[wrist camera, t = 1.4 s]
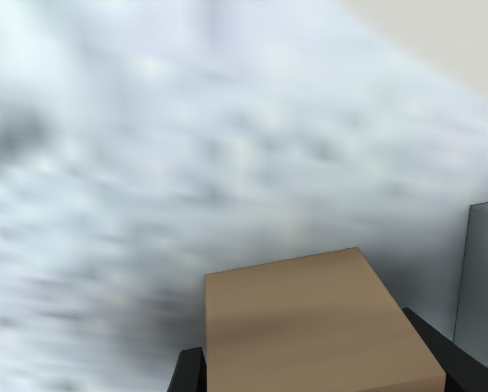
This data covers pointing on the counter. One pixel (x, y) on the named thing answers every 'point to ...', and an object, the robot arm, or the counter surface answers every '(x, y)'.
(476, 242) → the tote
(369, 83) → the counter surface
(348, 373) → the walnut cube
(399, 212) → the counter surface
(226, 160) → the counter surface
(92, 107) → the counter surface
